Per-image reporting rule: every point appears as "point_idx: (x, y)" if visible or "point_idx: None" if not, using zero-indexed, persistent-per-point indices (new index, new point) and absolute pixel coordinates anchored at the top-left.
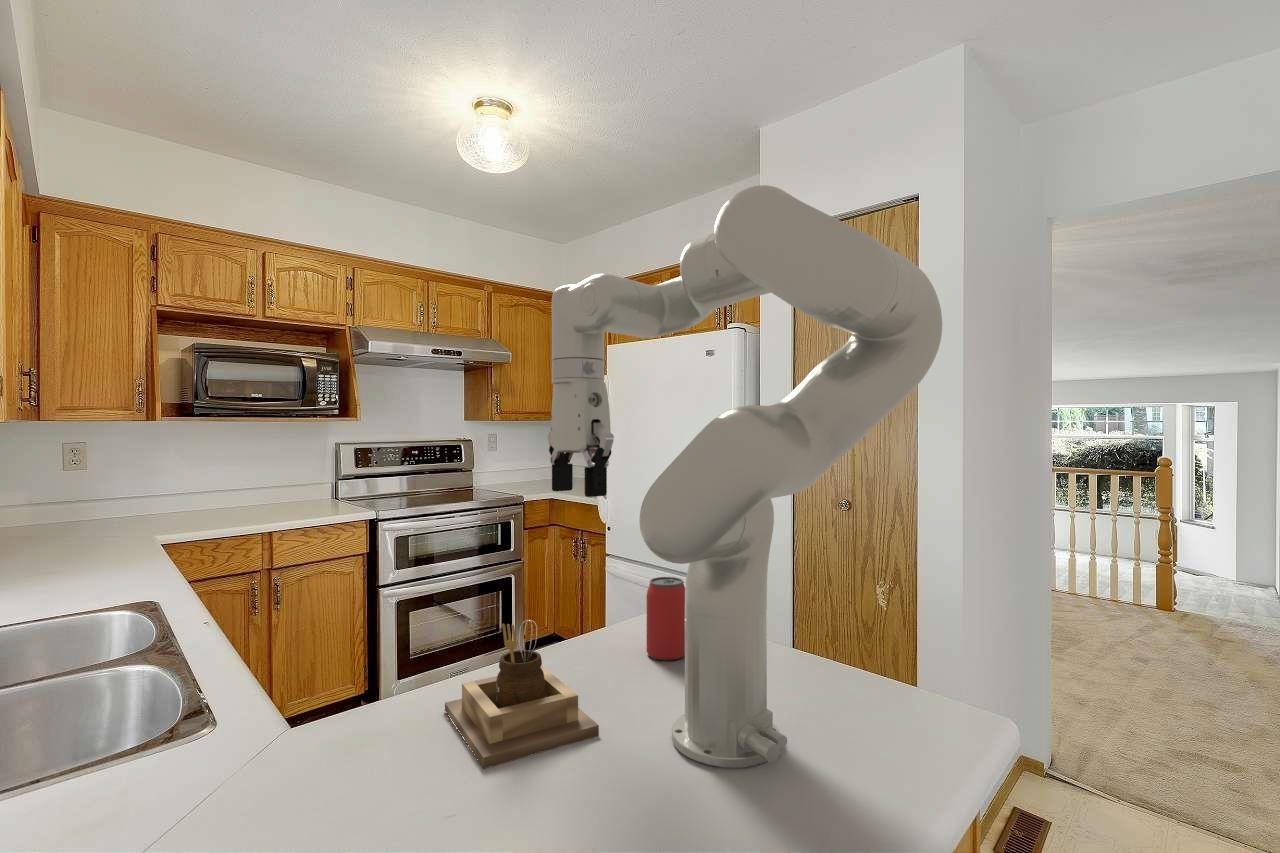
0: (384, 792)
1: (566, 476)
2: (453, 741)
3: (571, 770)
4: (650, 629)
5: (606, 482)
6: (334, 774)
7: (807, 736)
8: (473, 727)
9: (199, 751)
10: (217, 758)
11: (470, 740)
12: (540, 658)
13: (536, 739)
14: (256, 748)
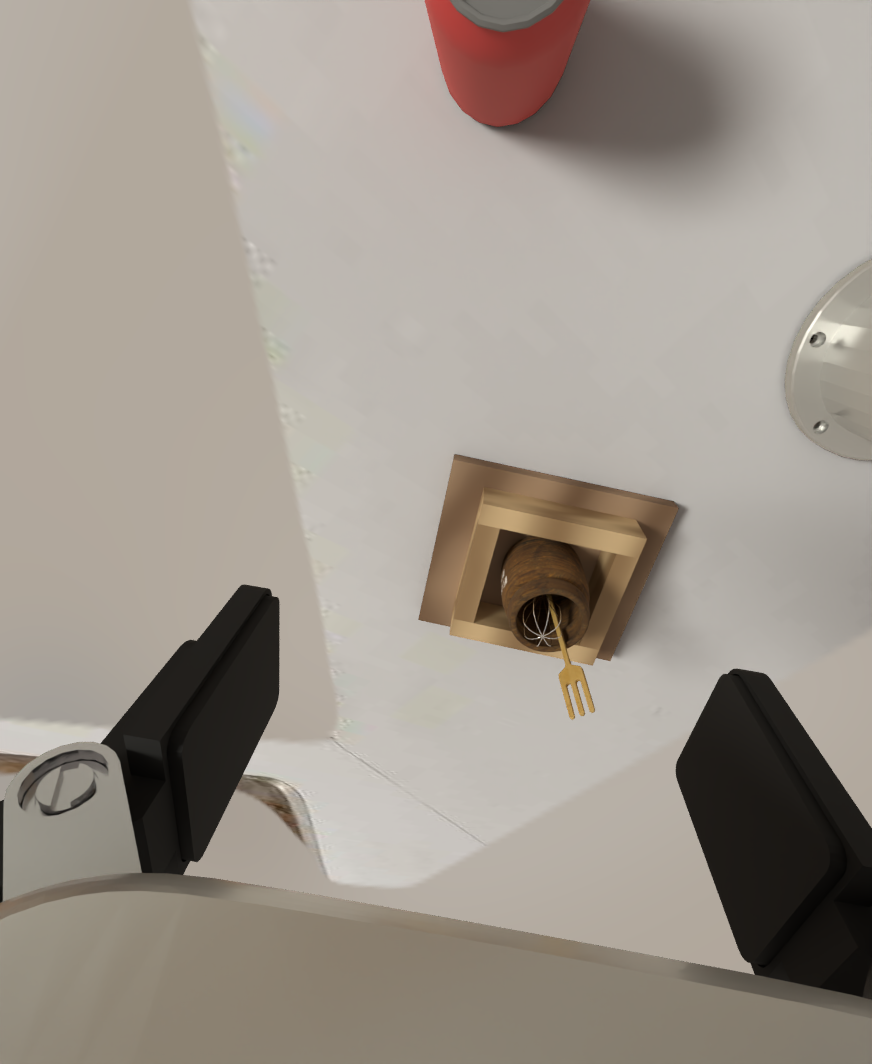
0: (560, 730)
1: (235, 701)
2: None
3: (708, 586)
4: (492, 104)
5: (809, 738)
6: (483, 745)
7: None
8: None
9: (333, 799)
10: (362, 794)
11: None
12: (581, 599)
13: (630, 595)
14: (364, 770)
